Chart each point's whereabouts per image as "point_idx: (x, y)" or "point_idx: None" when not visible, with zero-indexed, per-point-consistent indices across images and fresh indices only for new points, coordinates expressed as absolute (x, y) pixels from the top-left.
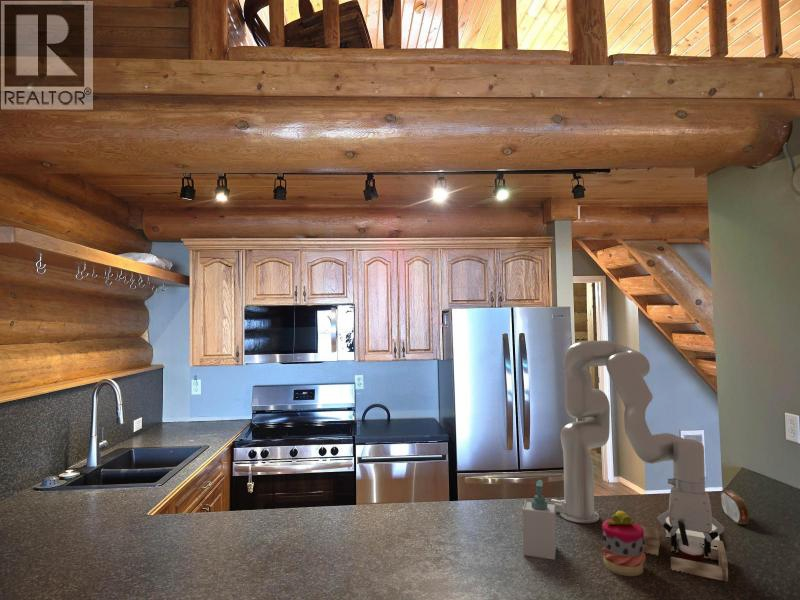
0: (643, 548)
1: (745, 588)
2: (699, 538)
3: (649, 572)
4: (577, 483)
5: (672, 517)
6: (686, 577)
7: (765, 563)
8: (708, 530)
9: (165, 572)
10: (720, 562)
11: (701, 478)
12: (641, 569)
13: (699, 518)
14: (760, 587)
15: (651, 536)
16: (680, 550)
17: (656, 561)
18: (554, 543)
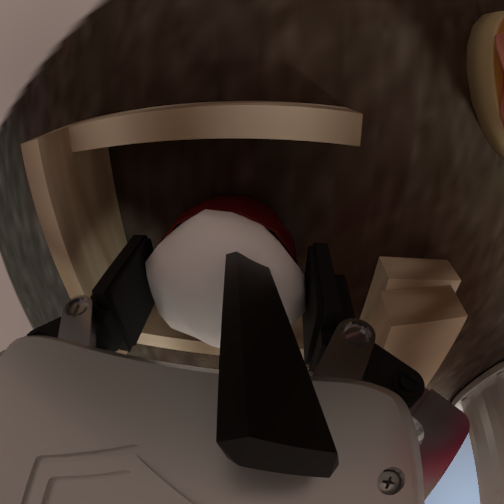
0: (441, 269)
1: (43, 103)
2: None
3: (443, 50)
4: None
5: (397, 495)
6: (265, 48)
7: (56, 315)
8: (14, 345)
9: None
10: (97, 225)
11: None
12: (482, 31)
13: (18, 472)
14: (18, 148)
15: (425, 327)
16: (287, 245)
17: (403, 187)
18: None
